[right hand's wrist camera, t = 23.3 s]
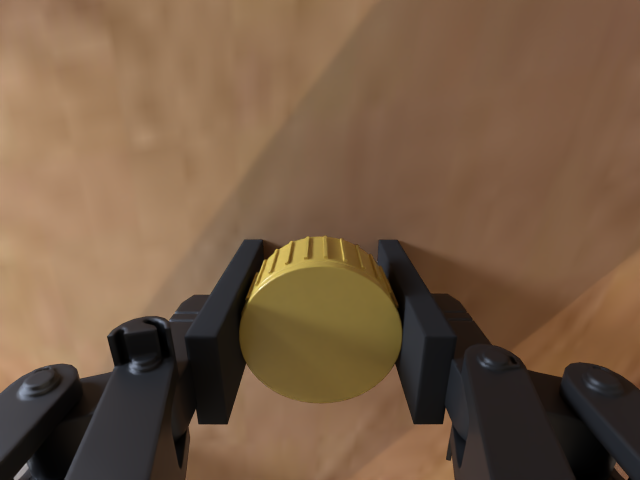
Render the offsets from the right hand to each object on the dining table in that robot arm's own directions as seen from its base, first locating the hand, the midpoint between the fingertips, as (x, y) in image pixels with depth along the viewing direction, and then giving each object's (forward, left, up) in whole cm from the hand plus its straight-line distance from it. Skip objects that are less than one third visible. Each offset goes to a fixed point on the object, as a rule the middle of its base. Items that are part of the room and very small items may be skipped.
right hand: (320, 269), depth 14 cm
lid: (0, 0, +4) cm, 4 cm away
